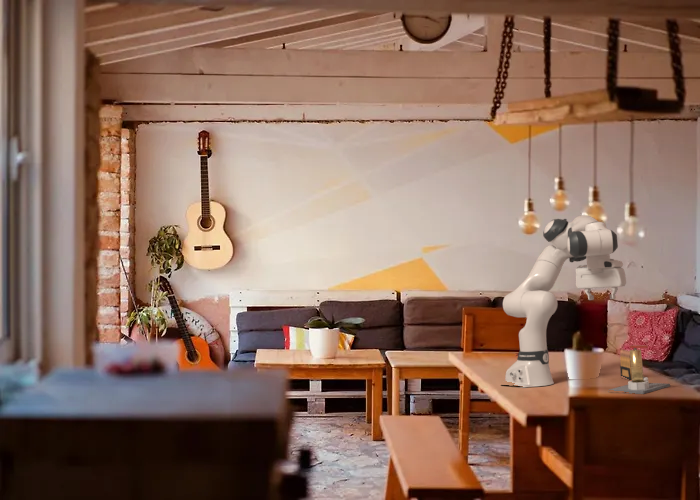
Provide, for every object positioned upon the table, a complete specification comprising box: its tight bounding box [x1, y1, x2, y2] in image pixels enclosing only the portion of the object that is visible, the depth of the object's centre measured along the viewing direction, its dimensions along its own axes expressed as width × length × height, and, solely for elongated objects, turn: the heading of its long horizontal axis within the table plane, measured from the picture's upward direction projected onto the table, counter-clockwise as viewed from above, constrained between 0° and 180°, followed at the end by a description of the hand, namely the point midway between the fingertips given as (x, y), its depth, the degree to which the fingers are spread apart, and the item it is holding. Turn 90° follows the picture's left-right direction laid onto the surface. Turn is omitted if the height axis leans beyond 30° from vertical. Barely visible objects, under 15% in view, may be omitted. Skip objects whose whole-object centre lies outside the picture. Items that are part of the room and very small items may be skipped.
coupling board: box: [608, 376, 671, 395], centre depth 320 cm, size 14×20×4 cm
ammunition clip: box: [619, 349, 632, 381], centre depth 351 cm, size 11×2×12 cm, turn 2°
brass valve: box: [629, 344, 649, 383], centre depth 315 cm, size 7×4×16 cm, turn 42°
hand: (601, 299), depth 331 cm, fingers open, 8 cm apart
